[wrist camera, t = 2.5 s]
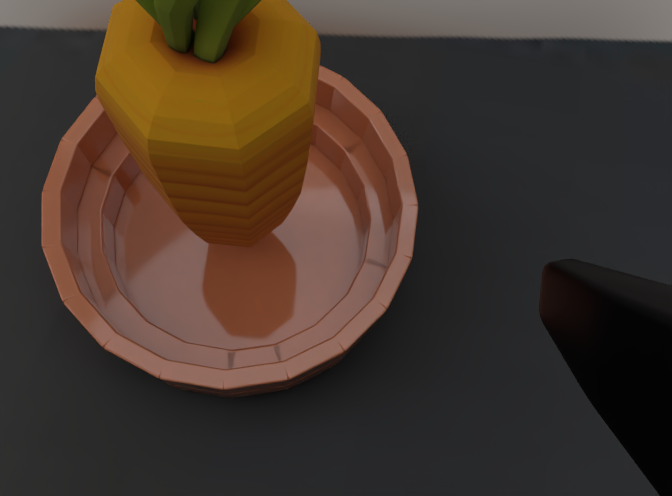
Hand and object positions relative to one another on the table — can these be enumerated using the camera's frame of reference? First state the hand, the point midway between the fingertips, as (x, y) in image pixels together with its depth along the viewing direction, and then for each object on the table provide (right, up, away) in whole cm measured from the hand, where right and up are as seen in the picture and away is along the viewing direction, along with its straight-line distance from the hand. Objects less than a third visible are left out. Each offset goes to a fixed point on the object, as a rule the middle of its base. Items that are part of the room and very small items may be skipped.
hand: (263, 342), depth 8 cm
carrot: (-3, +2, +14) cm, 14 cm away
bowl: (-3, +2, +14) cm, 14 cm away
